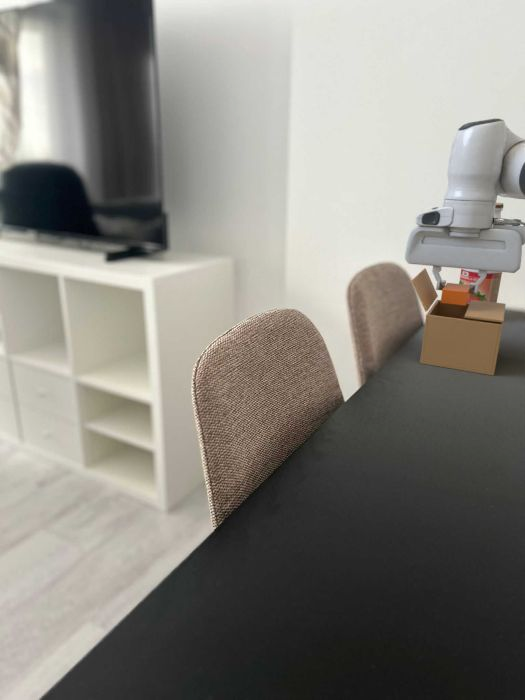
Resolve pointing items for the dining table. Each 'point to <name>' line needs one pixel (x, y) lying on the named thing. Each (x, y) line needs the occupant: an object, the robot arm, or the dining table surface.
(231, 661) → the dining table surface
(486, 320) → the brown open box
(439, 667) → the dining table surface
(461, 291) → the block
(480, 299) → the fruit juice
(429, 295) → the cardboard box flap
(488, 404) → the dining table surface
